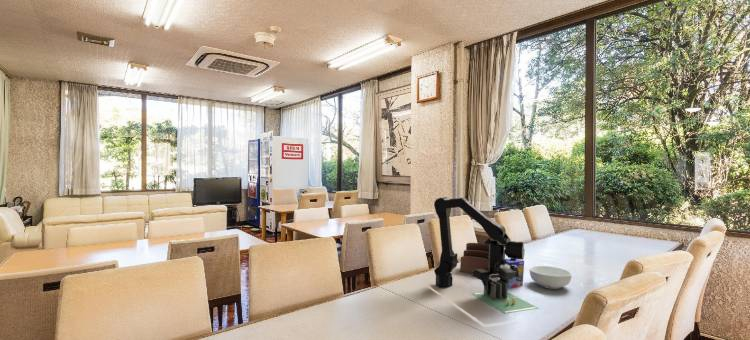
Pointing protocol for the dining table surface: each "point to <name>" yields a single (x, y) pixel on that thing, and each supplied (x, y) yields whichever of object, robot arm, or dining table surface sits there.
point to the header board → (506, 303)
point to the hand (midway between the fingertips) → (495, 293)
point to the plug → (497, 289)
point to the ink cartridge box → (520, 266)
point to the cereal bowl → (550, 276)
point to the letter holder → (475, 258)
